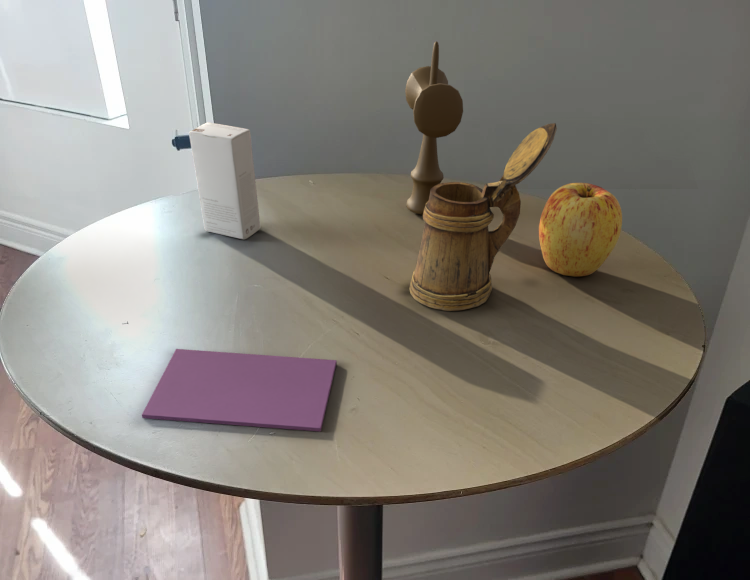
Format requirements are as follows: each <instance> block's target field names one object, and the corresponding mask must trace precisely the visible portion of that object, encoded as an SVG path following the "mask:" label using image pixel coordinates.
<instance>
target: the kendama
mask: <svg viewBox="0 0 750 580" xmlns="http://www.w3.org/2000/svg"><path fill="white" fill-rule="evenodd" d="M439 61H440V46H439V42H438V41H435V42H433V46H432V54H431V63H430V65H426V66H421V67H418V68H417V69H415V70H413V71H412V72H411V73H410V74H409V77H408V78H407V81H406V84H405V88H404V89H405V91H404V92H405V101H406V103H407V105H408V106H409V108H410V109H411V110H412V113H413V122H414V124H415V127H416V128H417V130H418V132H420V133H421V134H422V140H421V146H420V149H419V154H418V159H417V161H416V165H415V167H414V168H413V169H412V170H411V171H410V178H411V180H412V182H413V185H412V191H411V195H410V197H409V198H408V199H407V200H406V208H407V209H408V210H409V212H410V213H411V212H412V213H413V214H417V215H422V216H423V213H424V209H425V206H426V203H427V202H428V201H429V196H430V191H431V189H432V188H433V187H434V186H436V185H438V184H441V183H442V181H443V180H444V173H443V172H442V170H441V168H440V164H439V157H438V139H439V138H445V137H447V136H449V135H451V134H453V133H454V132H455V131H456V130H457V129H458V127H459V125H460V124H461V122H462V118H463V114H464V103H463V98H462V96H461V94H460V91H459V90H458V89H457V88H455V87H454V86H452V85H451V84H449V80H448V78H447V75H446V74H445V72H444V71H443V70H441V69H440V68H439V65H440V63H439Z"/></svg>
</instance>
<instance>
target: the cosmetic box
mask: <svg viewBox="0 0 750 580" xmlns="http://www.w3.org/2000/svg"><path fill="white" fill-rule="evenodd" d="M251 135H252V134H251V130H250V129H248V128H243V127H239V126H234V125H233V126H231V125H226V124H222V123H221V124H220V123H215V122H210V121H207V122H205V123H203V124H201V125H199V126H197V127H196V128H193V129H192V130H190V131H188V137H189V142H190V148H191V154H192V159H193V165H194V172H195V178H196V183H197V184H196V185H197V190H198V197H199V203H200V209H201V216H202V221H203V227H204V231H205V232H209V233H211V234H212V233H213V234H217V235H220V236H221V235H222V236H226V237H230V238H235V239H240V240H247V239H248V238H250V237H251V236H252V235H254V234H255V233H257V232H258V231H259V230H260V229H261V220H260V211H259V210H260V209H259V201H258V200H259V199H258V193H257V192H258V191H257V181H256V172H255V163H254V155H253V147H252V146H253V145H252V136H251Z"/></svg>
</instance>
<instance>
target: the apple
mask: <svg viewBox="0 0 750 580" xmlns="http://www.w3.org/2000/svg"><path fill="white" fill-rule="evenodd" d="M544 204H545V205H544V207H543V209H542V212H541V215H540V220H539V224H538V239H539V244H540V250H541V254H542V258H543V261H544V262H545V265H546V266H547V267H548V268H549V269H550V270H551V271H552V272H554V273H557V274H559V275H563V276H569V277H586V276H589V275H592V274H593V273H595V272H596V271H597V270H599V269H600V267H601V266H602V265H603V264H604V263H605V262H606V260H607V259H608V258H609V257H610V255H611V253H612V252H613V251H614V249H615V247H616V245H617V243H618V241H619V238H620V235H621V233H622V227H623V211H622V208H621V205H620V202H619V200H618V199H617V197H616V196H615V195H614V194H613V193H611V192H610V191H608V190H606V189H605V188H603V187H602V186H599V185H596V184H594V183H593V184H592V183H588V182H570V183H567V184H564V185H561V186H560V187H558V188H557V189H556V190H554V191H553V192H552V193H551V194H550V196H549V197H548V199H547V200H546V202H545V203H544Z"/></svg>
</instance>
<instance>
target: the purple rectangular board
mask: <svg viewBox="0 0 750 580" xmlns="http://www.w3.org/2000/svg"><path fill="white" fill-rule="evenodd" d="M337 363H338V361H337V359H326V358H314V357H313V358H311V357H297V356H284V355H282V356H281V355H271V354H269V355H268V354H257V353H256V354H253V353H243V352H242V353H240V352H229V351H228V352H226V351H214V350H213V351H212V350H199V349H187V348H186V349H185V348H175V350H174V352H173V354H172V356H171V358H170V360H169V362H168V363H167V365H166V367H165V369H164V371H163V372H162V375H161V377H160V379H159V380H158V383H157V384H156V387H155V389H154V390H153V392H152V393H151V396H150V398H149V400H148V401H147V404H146V406H145V408H144V409H143V411H142V413H141V418H142V419H149V420H165V421H176V422H188V423H201V424H214V425H215V424H216V425H227V426H228V425H229V426H244V427H254V428H255V427H256V428H267V429H281V430H282V429H283V430H295V431H307V432H309V431H310V432H322V429H323V424H324V419H325V415H326V411H327V406H328V404H329V403H328V402H329V398H330V394H331V389H332V386H333V382H334V376H335V372H336V367H337Z"/></svg>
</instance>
